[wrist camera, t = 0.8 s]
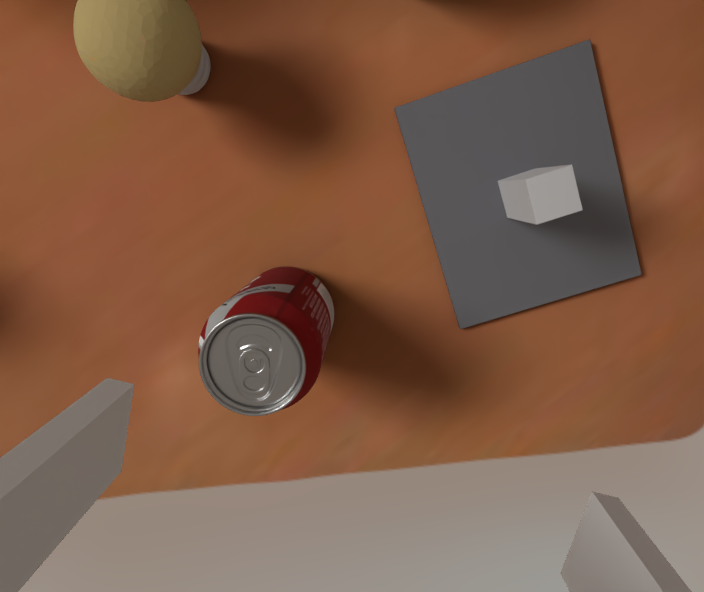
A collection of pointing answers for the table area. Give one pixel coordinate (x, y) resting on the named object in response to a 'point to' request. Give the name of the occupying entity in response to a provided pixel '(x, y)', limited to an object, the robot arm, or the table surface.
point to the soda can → (267, 342)
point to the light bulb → (142, 47)
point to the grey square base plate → (521, 186)
